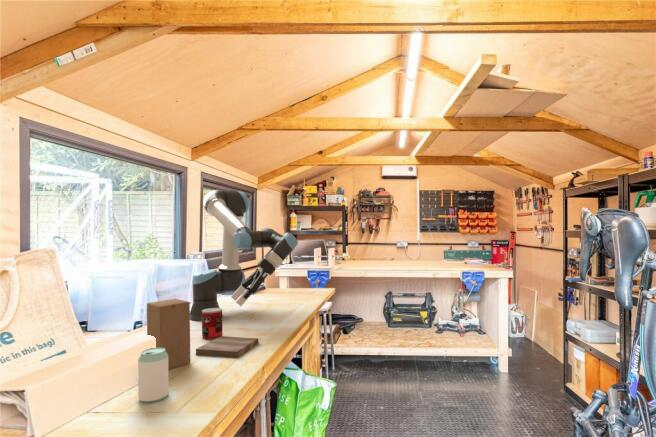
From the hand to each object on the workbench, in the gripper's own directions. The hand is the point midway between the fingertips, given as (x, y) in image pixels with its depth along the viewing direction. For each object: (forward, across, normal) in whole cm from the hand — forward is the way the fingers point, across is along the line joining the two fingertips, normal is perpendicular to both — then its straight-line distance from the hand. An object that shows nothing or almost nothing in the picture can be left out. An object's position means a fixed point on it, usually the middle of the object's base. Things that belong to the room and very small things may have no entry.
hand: (235, 301), depth 155 cm
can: (+30, -52, +11) cm, 61 cm away
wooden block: (+28, -26, +8) cm, 39 cm away
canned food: (+16, +1, -3) cm, 17 cm away
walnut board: (+14, -19, -6) cm, 24 cm away
